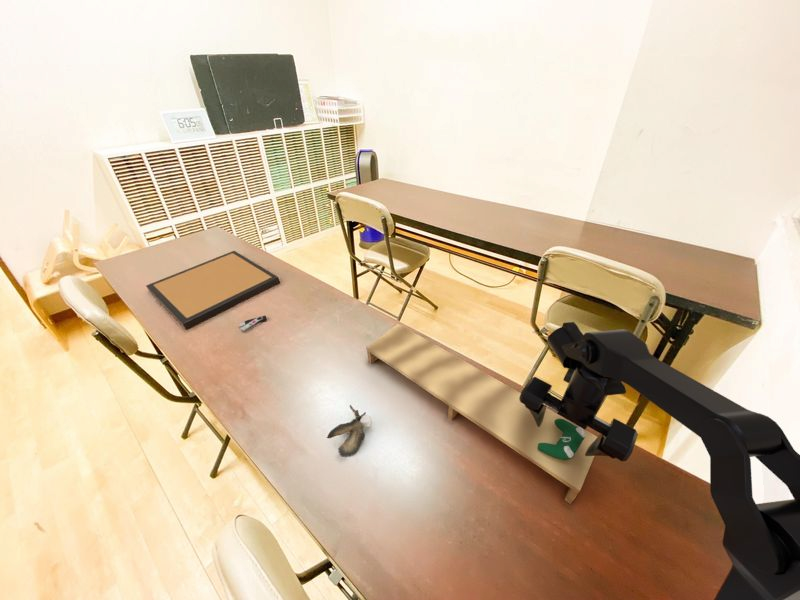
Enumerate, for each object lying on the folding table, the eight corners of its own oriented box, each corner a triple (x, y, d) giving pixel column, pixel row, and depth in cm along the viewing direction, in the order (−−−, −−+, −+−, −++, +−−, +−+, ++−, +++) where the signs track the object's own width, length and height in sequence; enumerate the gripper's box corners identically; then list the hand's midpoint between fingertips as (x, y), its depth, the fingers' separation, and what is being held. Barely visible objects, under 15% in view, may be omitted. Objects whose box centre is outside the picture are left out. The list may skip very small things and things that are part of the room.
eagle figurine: (342, 411, 78) (320, 440, 71) (356, 398, 74) (334, 426, 67) (365, 433, 78) (346, 463, 70) (380, 421, 74) (361, 452, 66)
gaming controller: (543, 462, 64) (571, 467, 59) (534, 445, 64) (561, 449, 59) (564, 431, 69) (591, 434, 64) (555, 416, 69) (582, 417, 64)
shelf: (591, 454, 69) (601, 439, 66) (570, 504, 62) (580, 490, 58) (398, 338, 100) (398, 323, 96) (368, 362, 92) (366, 347, 88)
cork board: (236, 256, 145) (149, 291, 124) (234, 250, 144) (145, 285, 123) (280, 283, 127) (186, 330, 106) (278, 277, 125) (182, 323, 104)
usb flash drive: (266, 316, 110) (265, 314, 109) (268, 325, 106) (267, 323, 105) (239, 324, 107) (238, 322, 106) (240, 334, 103) (239, 331, 102)
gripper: (661, 389, 54) (625, 439, 64) (550, 339, 64) (533, 388, 74) (647, 436, 48) (609, 483, 57) (526, 372, 58) (511, 422, 67)
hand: (562, 439), depth 64 cm, fingers open, 9 cm apart
